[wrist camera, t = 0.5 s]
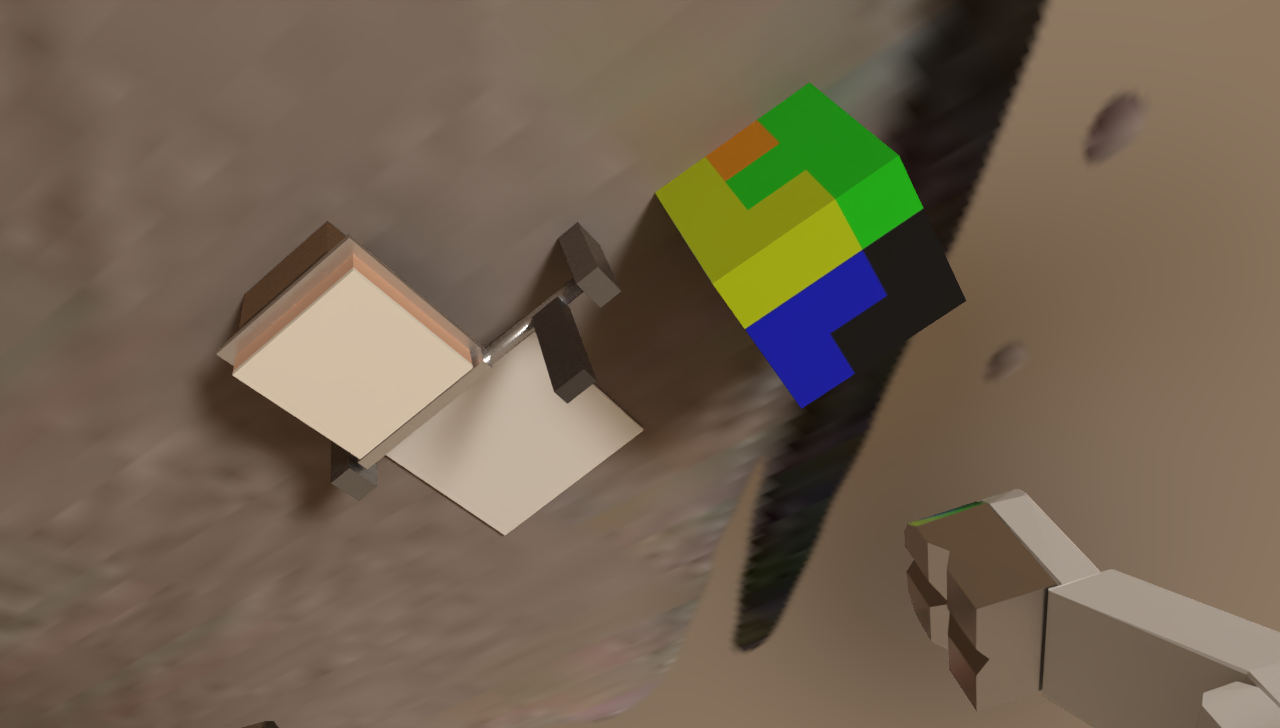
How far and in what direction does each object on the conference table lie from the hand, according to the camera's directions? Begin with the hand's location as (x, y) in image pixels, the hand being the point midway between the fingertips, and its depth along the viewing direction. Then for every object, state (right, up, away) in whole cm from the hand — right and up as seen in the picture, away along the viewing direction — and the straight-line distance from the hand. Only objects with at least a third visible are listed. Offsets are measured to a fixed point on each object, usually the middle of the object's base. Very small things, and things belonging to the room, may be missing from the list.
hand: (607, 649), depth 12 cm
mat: (-8, -1, +45) cm, 46 cm away
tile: (-14, +4, +35) cm, 38 cm away
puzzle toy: (+8, +13, +41) cm, 44 cm away
